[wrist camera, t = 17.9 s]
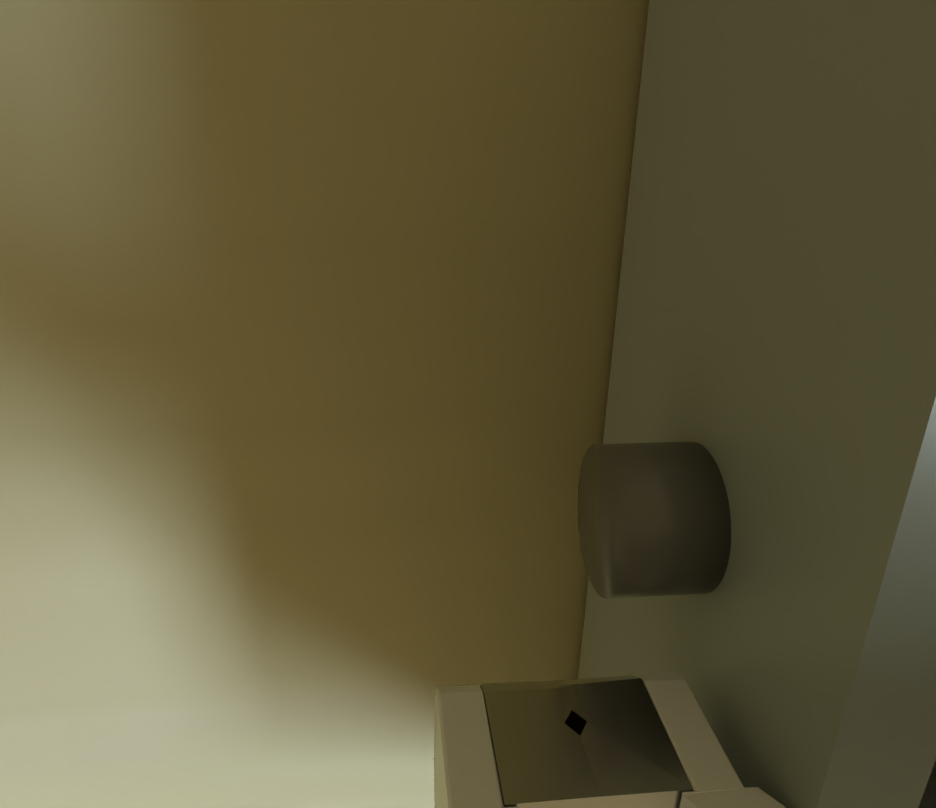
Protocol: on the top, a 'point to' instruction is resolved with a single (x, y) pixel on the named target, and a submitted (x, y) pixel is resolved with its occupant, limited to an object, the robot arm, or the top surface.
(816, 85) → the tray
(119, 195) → the top surface
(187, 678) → the top surface
